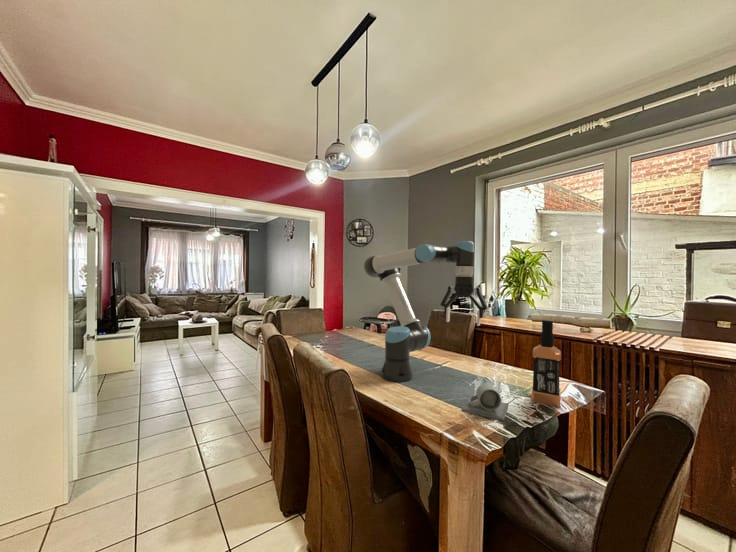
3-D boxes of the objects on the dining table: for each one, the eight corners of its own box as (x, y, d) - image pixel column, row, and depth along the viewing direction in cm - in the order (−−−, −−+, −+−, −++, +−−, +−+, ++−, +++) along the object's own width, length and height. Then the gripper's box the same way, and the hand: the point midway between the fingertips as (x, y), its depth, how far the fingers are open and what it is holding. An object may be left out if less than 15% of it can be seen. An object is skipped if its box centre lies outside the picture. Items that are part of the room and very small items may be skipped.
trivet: (462, 410, 111) (462, 408, 111) (470, 397, 123) (470, 395, 123) (503, 421, 104) (503, 418, 104) (508, 405, 116) (508, 403, 116)
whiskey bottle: (560, 407, 115) (562, 323, 114) (530, 401, 120) (532, 320, 119) (560, 398, 124) (562, 319, 123) (532, 392, 129) (534, 317, 128)
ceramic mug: (494, 401, 117) (494, 382, 117) (501, 411, 109) (501, 390, 109) (466, 400, 118) (466, 381, 118) (470, 410, 110) (470, 389, 110)
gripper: (434, 275, 139) (433, 321, 140) (492, 277, 125) (490, 328, 126) (440, 275, 145) (438, 319, 146) (495, 276, 132) (494, 325, 132)
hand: (462, 323), depth 136 cm, fingers open, 13 cm apart
